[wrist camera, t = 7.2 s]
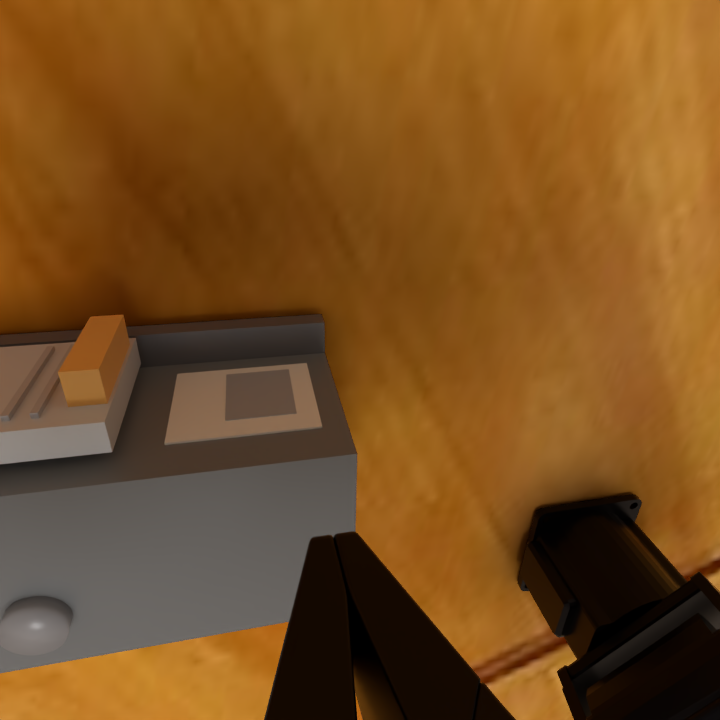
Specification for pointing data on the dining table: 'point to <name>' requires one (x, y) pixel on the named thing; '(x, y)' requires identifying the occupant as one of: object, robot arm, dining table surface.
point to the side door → (67, 393)
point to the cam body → (179, 496)
